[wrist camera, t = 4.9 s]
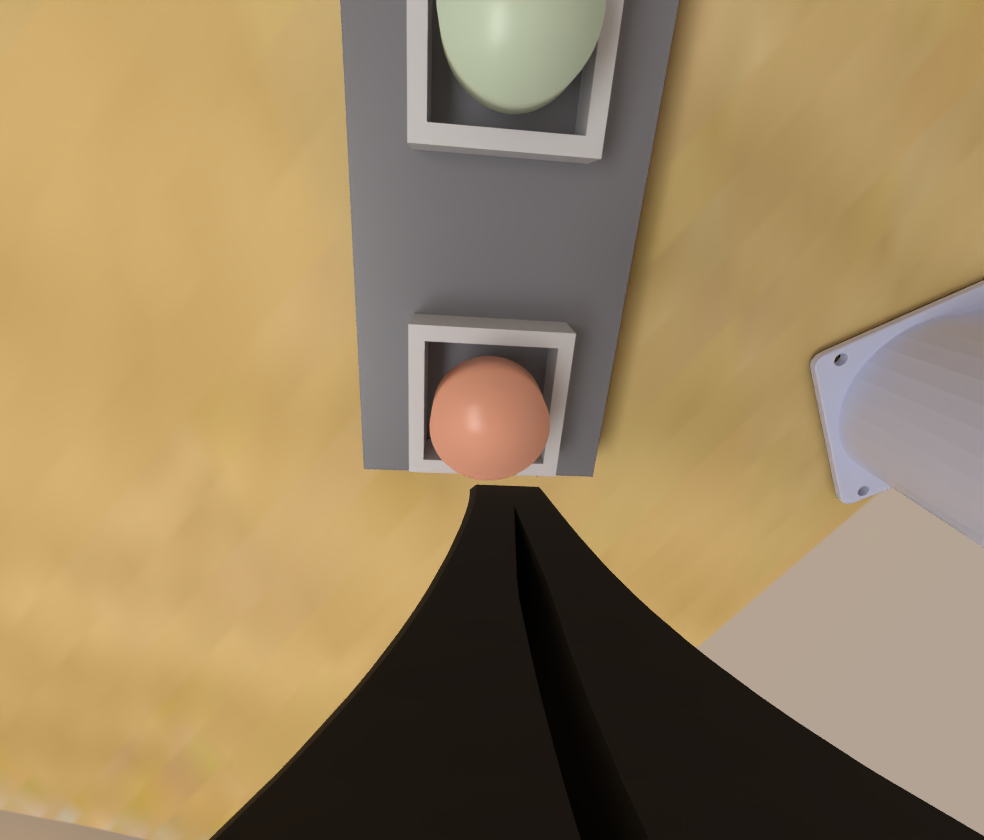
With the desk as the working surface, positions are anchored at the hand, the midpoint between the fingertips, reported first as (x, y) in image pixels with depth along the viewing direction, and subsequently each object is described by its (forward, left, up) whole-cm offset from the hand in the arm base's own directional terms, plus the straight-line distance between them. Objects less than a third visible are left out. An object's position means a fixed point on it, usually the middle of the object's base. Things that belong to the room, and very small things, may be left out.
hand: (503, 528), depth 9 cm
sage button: (-5, -8, -7) cm, 12 cm away
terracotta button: (0, 0, -7) cm, 7 cm away
